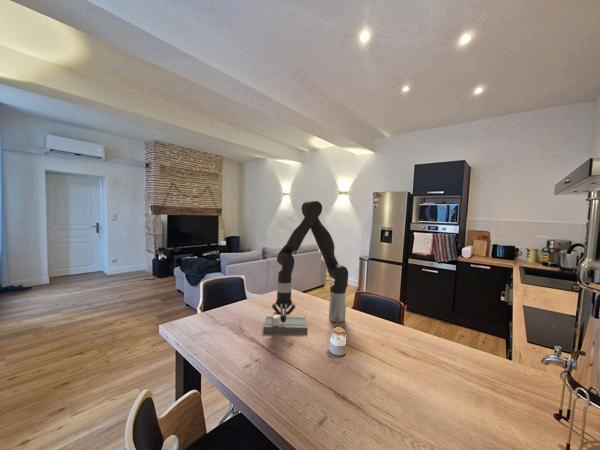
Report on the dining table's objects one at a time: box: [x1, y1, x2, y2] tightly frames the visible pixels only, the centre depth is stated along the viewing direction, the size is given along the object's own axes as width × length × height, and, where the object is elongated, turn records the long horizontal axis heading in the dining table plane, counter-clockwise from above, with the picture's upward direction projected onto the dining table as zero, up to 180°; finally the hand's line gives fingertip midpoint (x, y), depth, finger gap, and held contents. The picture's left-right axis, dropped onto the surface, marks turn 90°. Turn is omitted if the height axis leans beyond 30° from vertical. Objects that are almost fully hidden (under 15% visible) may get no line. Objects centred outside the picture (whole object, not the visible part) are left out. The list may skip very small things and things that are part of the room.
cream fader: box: [273, 314, 280, 326], centre depth 134 cm, size 3×4×4 cm
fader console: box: [263, 315, 308, 334], centre depth 138 cm, size 23×14×3 cm, turn 93°
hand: (283, 321), depth 134 cm, fingers closed
